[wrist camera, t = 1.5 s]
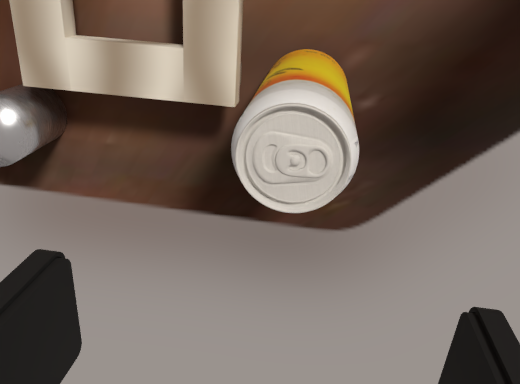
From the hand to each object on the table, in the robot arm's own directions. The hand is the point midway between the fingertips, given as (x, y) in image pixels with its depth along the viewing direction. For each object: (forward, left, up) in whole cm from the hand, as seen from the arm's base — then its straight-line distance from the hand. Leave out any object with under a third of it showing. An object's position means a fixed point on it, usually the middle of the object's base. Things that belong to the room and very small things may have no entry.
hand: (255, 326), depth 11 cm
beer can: (0, 0, -26) cm, 26 cm away
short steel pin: (+22, +4, -26) cm, 34 cm away
